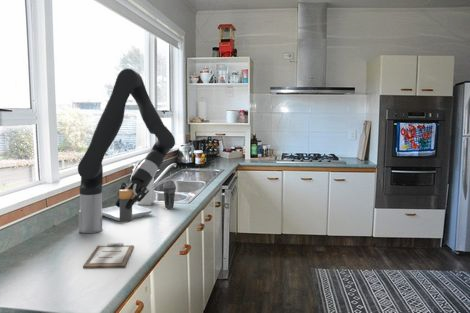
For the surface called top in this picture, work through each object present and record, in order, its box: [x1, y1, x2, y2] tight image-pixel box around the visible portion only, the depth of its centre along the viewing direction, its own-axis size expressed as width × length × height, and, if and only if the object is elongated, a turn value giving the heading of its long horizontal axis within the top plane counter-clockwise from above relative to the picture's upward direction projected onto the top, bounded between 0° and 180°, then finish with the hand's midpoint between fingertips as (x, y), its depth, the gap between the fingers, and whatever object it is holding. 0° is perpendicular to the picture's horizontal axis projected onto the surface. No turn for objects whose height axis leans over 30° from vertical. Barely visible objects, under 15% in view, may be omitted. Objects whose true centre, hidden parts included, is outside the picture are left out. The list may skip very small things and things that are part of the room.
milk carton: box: [137, 176, 155, 206], centre depth 223 cm, size 7×7×19 cm
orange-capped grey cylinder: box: [118, 189, 133, 223], centre depth 151 cm, size 5×5×12 cm
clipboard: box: [82, 242, 135, 269], centre depth 142 cm, size 14×20×2 cm
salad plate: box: [102, 204, 154, 222], centre depth 198 cm, size 21×21×3 cm
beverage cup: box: [162, 172, 177, 210], centre depth 214 cm, size 7×7×20 cm
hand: (122, 207), depth 149 cm, fingers closed on orange-capped grey cylinder, 5 cm apart
